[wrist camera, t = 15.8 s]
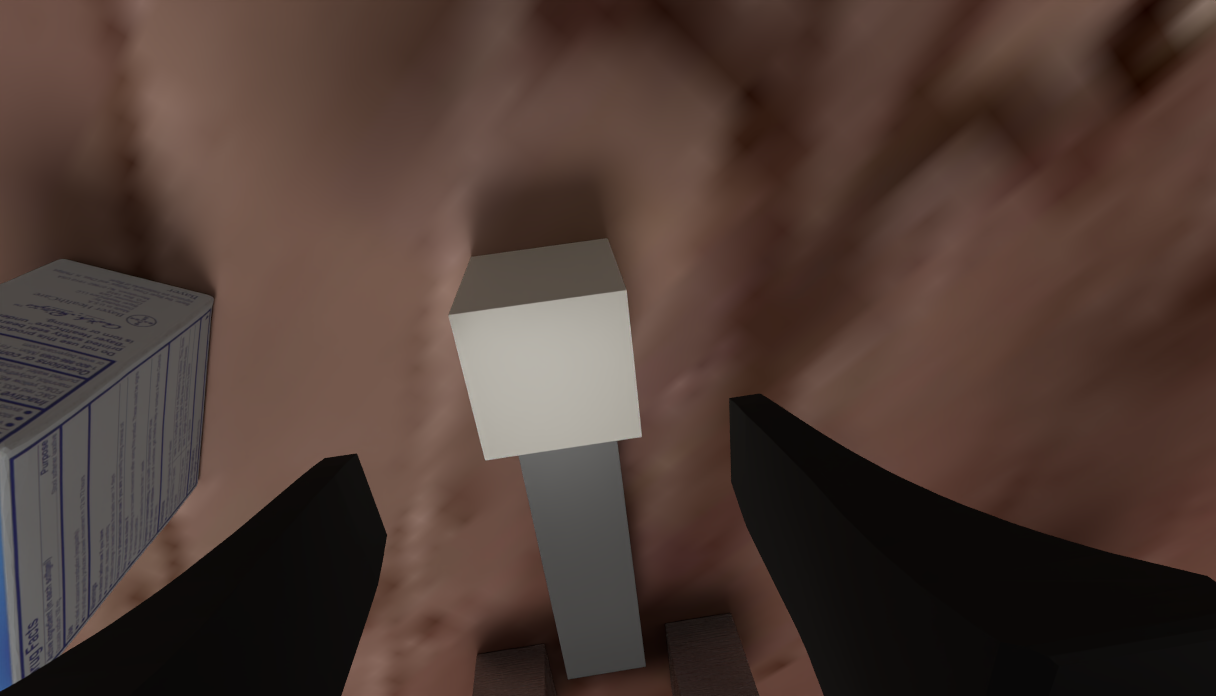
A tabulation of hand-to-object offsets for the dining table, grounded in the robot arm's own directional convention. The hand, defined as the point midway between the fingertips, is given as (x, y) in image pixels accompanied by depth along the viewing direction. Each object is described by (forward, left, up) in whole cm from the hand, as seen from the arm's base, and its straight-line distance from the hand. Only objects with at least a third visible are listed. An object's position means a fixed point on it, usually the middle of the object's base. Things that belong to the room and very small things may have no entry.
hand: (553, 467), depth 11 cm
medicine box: (+14, +1, -10) cm, 17 cm away
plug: (0, +7, -9) cm, 12 cm away
